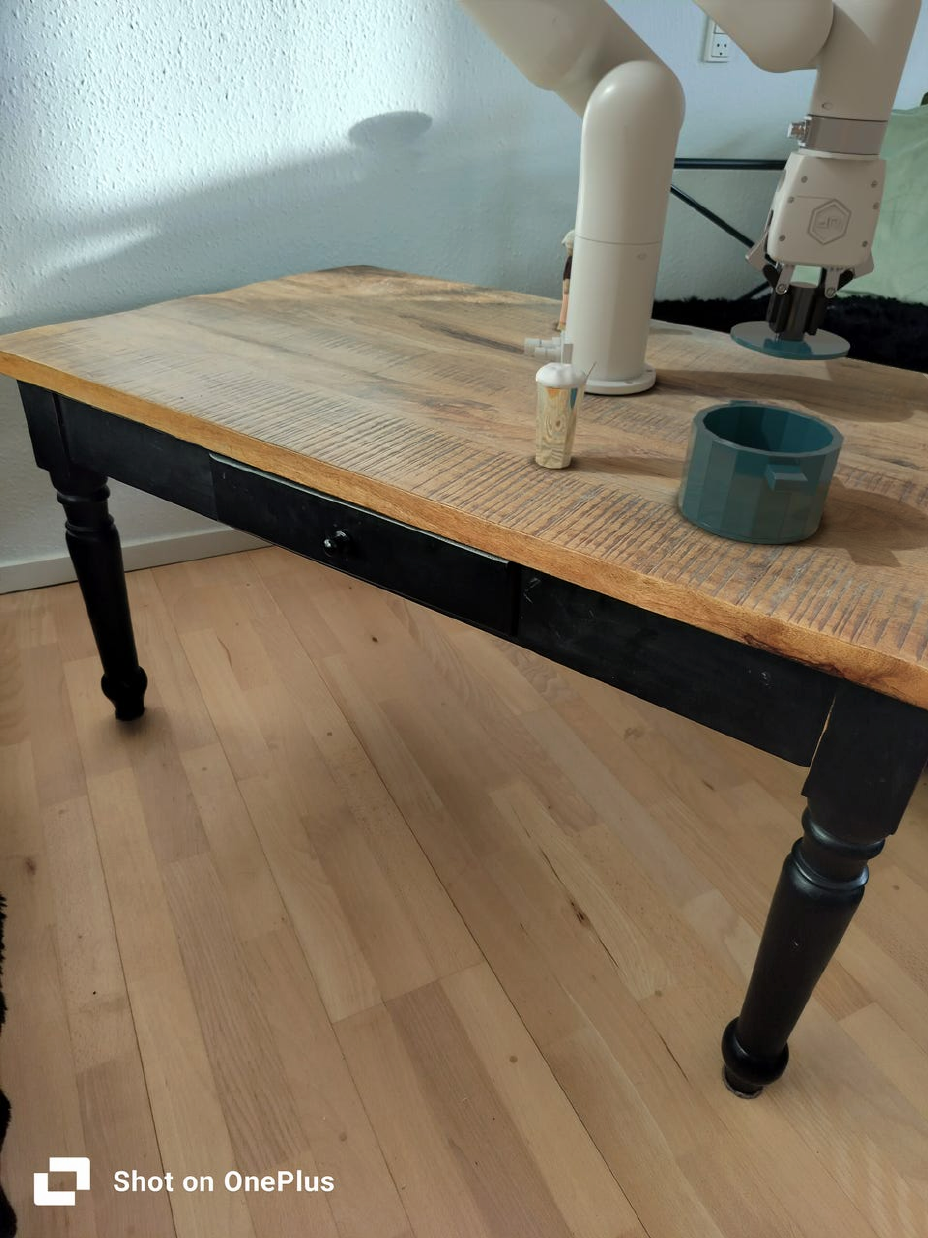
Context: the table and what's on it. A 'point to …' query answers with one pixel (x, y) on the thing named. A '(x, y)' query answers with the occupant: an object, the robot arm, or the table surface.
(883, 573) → the table surface
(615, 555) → the table surface
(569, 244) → the grandmother figurine
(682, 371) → the table surface
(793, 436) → the pot
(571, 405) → the milkshake
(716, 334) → the table surface
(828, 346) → the lid
